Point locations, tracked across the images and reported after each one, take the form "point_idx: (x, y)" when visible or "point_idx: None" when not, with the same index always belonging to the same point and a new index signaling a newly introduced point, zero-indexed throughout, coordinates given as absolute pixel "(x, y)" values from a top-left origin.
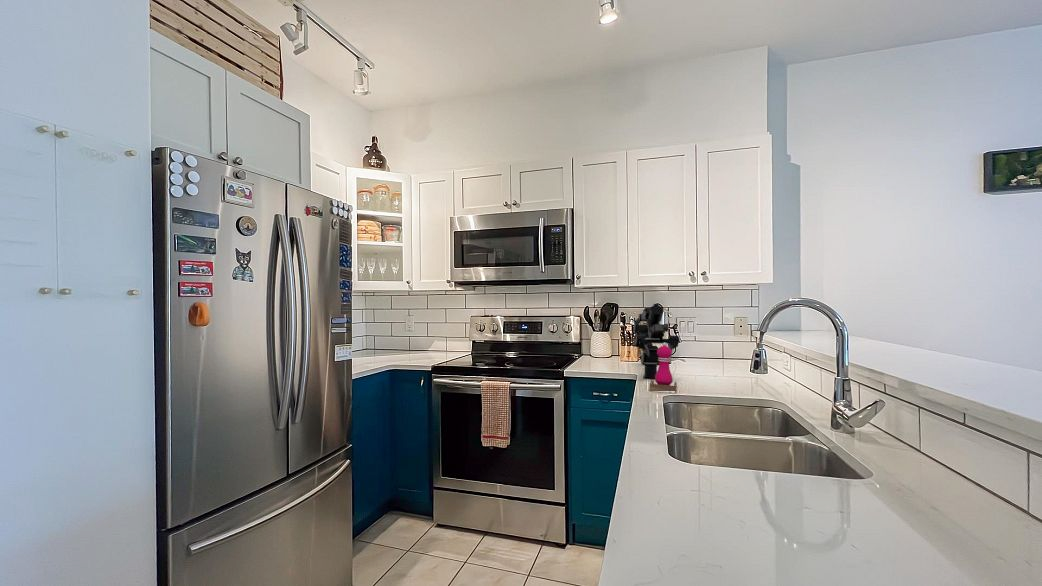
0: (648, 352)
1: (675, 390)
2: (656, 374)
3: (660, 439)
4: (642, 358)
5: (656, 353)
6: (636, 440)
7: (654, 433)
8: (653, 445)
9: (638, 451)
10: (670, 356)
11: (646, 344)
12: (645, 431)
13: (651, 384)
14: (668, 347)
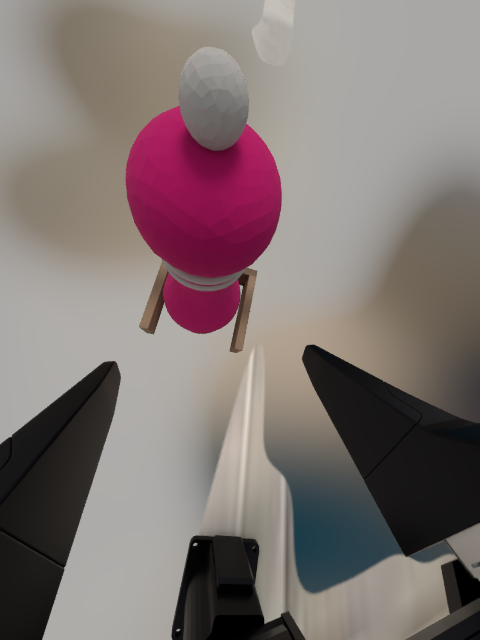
0: (331, 357)
1: None
2: (238, 282)
3: (260, 22)
4: None
5: None
6: (289, 27)
7: (266, 38)
8: (270, 12)
9: (287, 6)
10: (115, 367)
11: (437, 427)
12: (277, 46)
13: (251, 269)
14: (164, 114)
